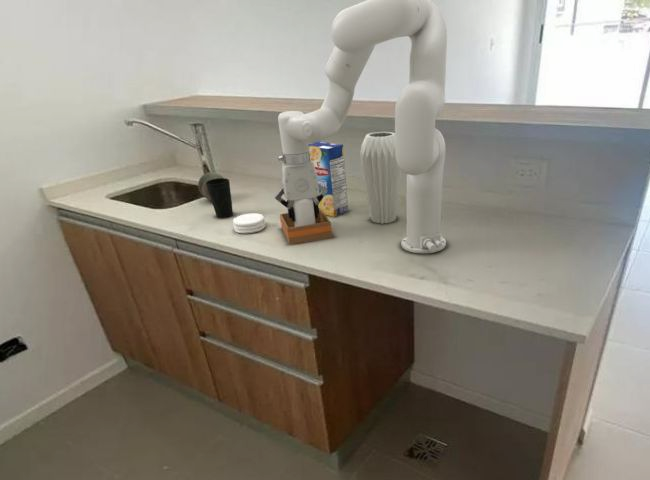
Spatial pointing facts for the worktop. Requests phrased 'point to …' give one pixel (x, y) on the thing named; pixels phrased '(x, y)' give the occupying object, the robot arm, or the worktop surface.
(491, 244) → the worktop surface
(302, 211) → the can
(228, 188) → the cup
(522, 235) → the worktop surface
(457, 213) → the worktop surface
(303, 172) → the robot arm
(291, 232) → the wooden box
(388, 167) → the vase
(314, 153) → the beverage box
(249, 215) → the white round disc
